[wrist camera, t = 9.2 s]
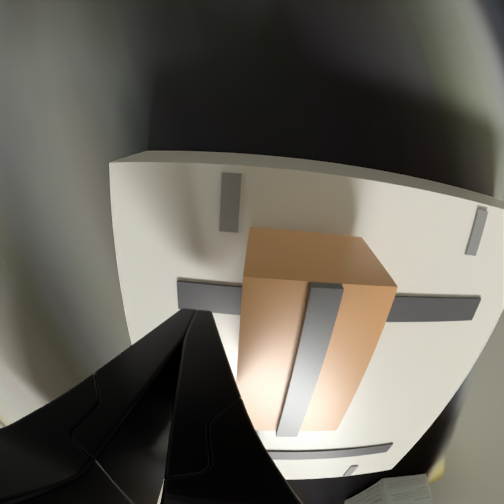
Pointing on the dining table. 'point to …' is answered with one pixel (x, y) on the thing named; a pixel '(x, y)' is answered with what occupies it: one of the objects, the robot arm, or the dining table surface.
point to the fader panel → (328, 222)
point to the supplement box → (396, 491)
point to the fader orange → (307, 327)
